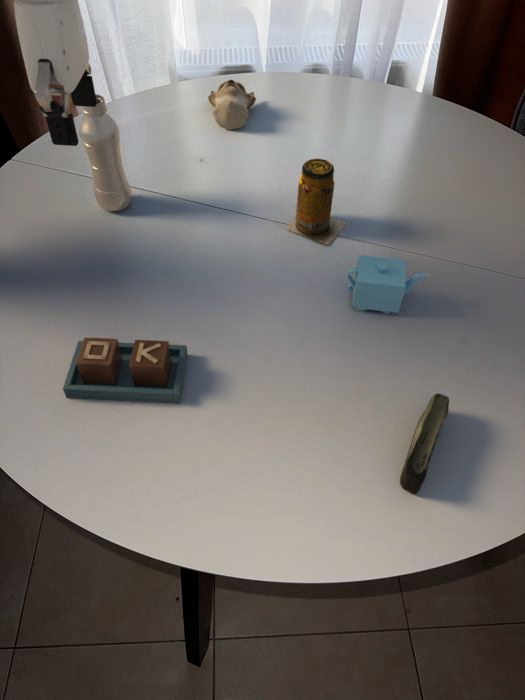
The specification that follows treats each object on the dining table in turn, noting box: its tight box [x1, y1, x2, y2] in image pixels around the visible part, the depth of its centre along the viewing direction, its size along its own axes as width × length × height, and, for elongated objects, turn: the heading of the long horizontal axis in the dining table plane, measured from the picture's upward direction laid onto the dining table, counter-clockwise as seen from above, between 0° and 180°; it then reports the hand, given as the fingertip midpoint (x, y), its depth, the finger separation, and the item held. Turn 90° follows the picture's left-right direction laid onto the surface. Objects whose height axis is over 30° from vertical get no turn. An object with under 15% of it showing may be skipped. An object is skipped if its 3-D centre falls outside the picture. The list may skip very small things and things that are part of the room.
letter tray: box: [62, 340, 189, 404], centre depth 81 cm, size 16×9×2 cm, turn 88°
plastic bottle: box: [78, 93, 132, 212], centre depth 99 cm, size 6×7×20 cm
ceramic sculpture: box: [207, 79, 257, 131], centre depth 125 cm, size 11×9×15 cm
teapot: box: [346, 254, 429, 315], centre depth 89 cm, size 12×6×8 cm, turn 81°
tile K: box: [129, 339, 172, 388], centre depth 80 cm, size 5×5×5 cm
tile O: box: [76, 336, 123, 385], centre depth 80 cm, size 5×5×5 cm
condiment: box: [285, 158, 347, 246], centre depth 99 cm, size 7×8×12 cm
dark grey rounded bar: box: [399, 392, 450, 495], centre depth 74 cm, size 5×3×15 cm
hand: (76, 124), depth 76 cm, fingers open, 9 cm apart
